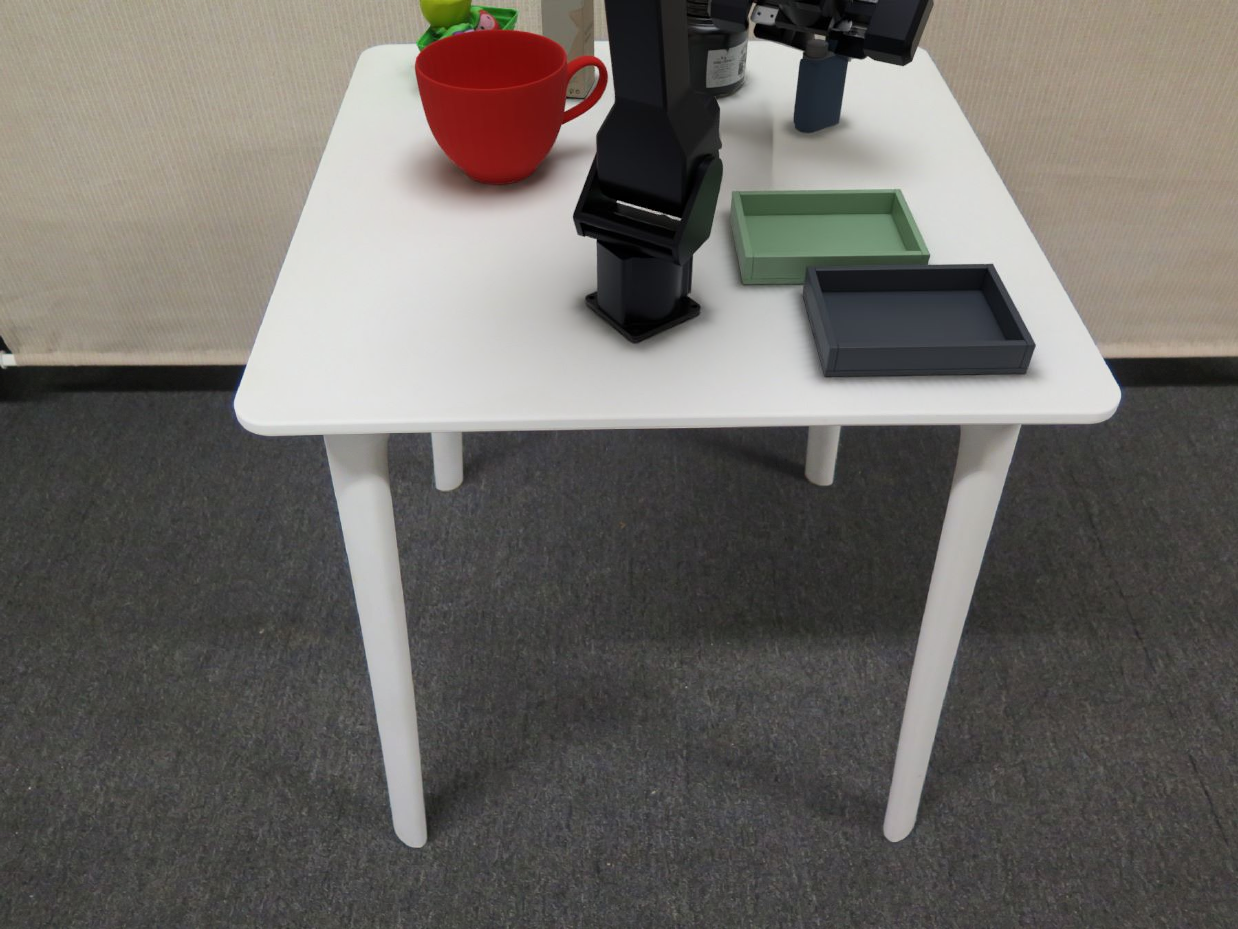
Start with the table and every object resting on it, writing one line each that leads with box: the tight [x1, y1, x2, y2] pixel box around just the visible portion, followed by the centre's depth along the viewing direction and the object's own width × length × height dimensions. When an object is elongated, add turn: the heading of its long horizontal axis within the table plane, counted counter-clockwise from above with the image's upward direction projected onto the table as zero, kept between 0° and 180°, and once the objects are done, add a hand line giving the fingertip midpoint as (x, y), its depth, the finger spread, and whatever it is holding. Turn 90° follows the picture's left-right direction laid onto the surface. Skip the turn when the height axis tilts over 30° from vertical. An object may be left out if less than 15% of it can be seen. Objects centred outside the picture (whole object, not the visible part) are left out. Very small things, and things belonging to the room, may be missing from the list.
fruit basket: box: [415, 0, 519, 53], centre depth 104 cm, size 11×9×11 cm
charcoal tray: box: [802, 263, 1037, 377], centre depth 74 cm, size 14×10×2 cm
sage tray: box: [729, 188, 931, 285], centre depth 82 cm, size 14×10×2 cm
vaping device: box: [792, 20, 849, 134], centre depth 95 cm, size 3×5×12 cm, turn 124°
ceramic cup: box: [414, 29, 609, 185], centre depth 90 cm, size 13×17×10 cm
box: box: [540, 0, 596, 99], centre depth 102 cm, size 5×4×11 cm
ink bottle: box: [686, 0, 750, 97], centre depth 102 cm, size 10×9×12 cm
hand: (831, 52), depth 95 cm, fingers closed on vaping device, 3 cm apart
